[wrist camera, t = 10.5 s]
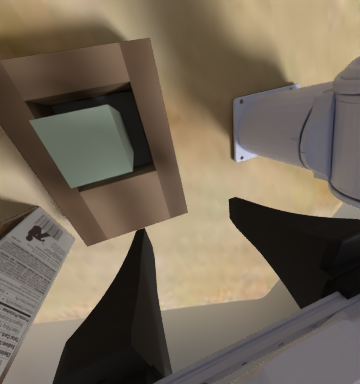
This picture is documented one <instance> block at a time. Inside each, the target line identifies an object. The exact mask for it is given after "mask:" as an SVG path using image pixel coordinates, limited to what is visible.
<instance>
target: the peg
mask: <svg viewBox="0 0 360 384" xmlns="http://www.w3.org/2000/svg"><path fill="white" fill-rule="evenodd" d="M29 122H30V123H31V125H32V126H33V128H34V130H35V131H36V133H37V134H38V136H39V138H40V139H41V141H42V143H43V144H44V146H45V147H46V149H47V151H48V152H49V154H50V155H51V157H52V159H53V160H54V162H55V163H56V165H57V167H58V168H59V170H60V171H61V173H62V175H63V176H64V178H65V180H66V181H67V183H68V184H69V186H70V188H74V187H78V186H82V185H85V184H89V183H92V182H96V181H100V180H103V179H107V178H110V177H114V176H118V175H121V174H125V173H128V172H132V171H133V156H134V150H133V147H132V145H131V142H130V139H129V136H128V133H127V130H126V127H125V124H124V122H123V119H122V116H121V113H120V112H119V111H117V110H116V109H114V108H113V107H111V106H109V105H103V106H98V107H93V108H88V109H83V110H78V111H73V112H69V113H64V114H59V115H54V116H49V117H44V118H39V119H35V120H30V121H29Z"/></svg>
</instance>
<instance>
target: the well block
mask: <svg viewBox="0 0 360 384" xmlns="http://www.w3.org/2000/svg"><path fill="white" fill-rule="evenodd" d="M131 91H132V93H131ZM132 95H133V96H132ZM133 98H134V99H133ZM134 101H135V103H134ZM103 105H109V106H111V107H113V108H114V109H116V110H117V111H119V112H120V113H121V116H122V119H123V122H124V124H125V127H126V130H127V133H128V136H129V139H130V142H131V145H132V147H133V150H134V156H133V171H132V172H128V173H125V174H121V175H118V176H114V177H110V178H107V179H103V180H100V181H96V182H92V183H89V184H85V185H82V186H78V187H74V188H70V186H69V184H68V183H67V181H66V180H65V178H64V176H63V175H62V173H61V171H60V170H59V168H58V167H57V165H56V163H55V162H54V160H53V159H52V157H51V155H50V154H49V152H48V151H47V149H46V147H45V146H44V144H43V143H42V141H41V139H40V138H39V136H38V134H37V133H36V131H35V130H34V128H33V126H32V125H31V123H30V122H29V121H30V120H35V119H39V118H44V117H49V116H54V115H59V114H64V113H69V112H73V111H78V110H83V109H88V108H93V107H98V106H103ZM135 105H136V106H135ZM136 108H137V109H136ZM137 111H138V113H137ZM138 115H139V116H138ZM139 118H140V119H139ZM140 121H141V123H140ZM0 125H1V126H2V128H3V129H4V131H5V132H6V133H7V135H8V136H9V138H10V139H11V140H12V142H13V143H14V145H15V146H16V147H17V149H18V150H19V152H20V153H21V154H22V156H23V157H24V159H25V160H26V161H27V163H28V164H29V166H30V167H31V168H32V170H33V171H34V173H35V174H36V175H37V177H38V178H39V180H40V181H41V182H42V184H43V185H44V187H45V188H46V189H47V191H48V192H49V194H50V195H51V196H52V198H53V199H54V201H55V202H56V203H57V205H58V206H59V208H60V209H61V210H62V212H63V213H64V215H65V216H66V217H67V219H68V220H69V222H70V223H71V224H72V226H73V227H74V229H75V230H76V231H77V233H78V234H79V236H80V237H81V238H82V240H83V241H84V243H85V244H86V245H87V247H88V246H90V245H93V244H96V243H99V242H102V241H105V240H108V239H111V238H114V237H117V236H120V235H123V234H126V233H129V232H132V231H135V230H138V229H141V228H144V227H147V226H150V225H152V224H155V223H158V222H161V221H164V220H167V219H170V218H173V217H176V216H179V215H182V214H185V213H188V211H187V206H186V202H185V197H184V192H183V188H182V183H181V179H180V174H179V170H178V165H177V160H176V156H175V151H174V147H173V142H172V137H171V133H170V128H169V124H168V119H167V115H166V110H165V105H164V101H163V96H162V92H161V87H160V82H159V78H158V73H157V69H156V64H155V60H154V55H153V50H152V46H151V41H150V38H145V39H138V40H131V41H125V42H118V43H111V44H104V45H98V46H91V47H84V48H78V49H71V50H64V51H58V52H51V53H44V54H37V55H31V56H24V57H17V58H11V59H4V60H0ZM141 125H142V126H141ZM142 128H143V129H142ZM143 131H144V133H143ZM144 135H145V136H144ZM145 138H146V139H145ZM146 141H147V143H146ZM147 145H148V146H147ZM148 148H149V149H148ZM149 152H150V153H149ZM150 155H151V156H150ZM151 158H152V159H151Z"/></svg>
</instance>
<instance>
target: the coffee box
mask: <svg viewBox="0 0 360 384" xmlns="http://www.w3.org/2000/svg"><path fill="white" fill-rule="evenodd" d="M74 240H75V238H74V237H73V236H72V235H71V234H69V233H68V232H67V231H66V230H65V229H64V228H63V227H62V226H61V225H60V224H58V223H57V222H56V221H55V220H54V219H53V218H52V217H51V216H50V215H48V214H47V213H46V212H45V211H44V210H43V209H42V208H41V207H38V206H37V207H34V208H32V209H30V210H28V211H26V212H24V213H22V214H20V215H18V216H16V217H14V218H11V219H9V220H7V221H5V222H3V223H1V224H0V384H2V382H3V380H4V378H5V376H6V374H7V372H8V370H9V368H10V366H11V364H12V362H13V361H14V359H15V357H16V355H17V353H18V351H19V348H20V347H21V345H22V343H23V341H24V339H25V336H26V334H27V333H28V331H29V329H30V327H31V325H32V323H33V321H34V319H35V317H36V315H37V313H38V311H39V309H40V307H41V305H42V303H43V301H44V299H45V297H46V295H47V293H48V292H49V290H50V288H51V286H52V284H53V282H54V280H55V278H56V276H57V274H58V272H59V270H60V268H61V266H62V264H63V262H64V260H65V258H66V256H67V254H68V252H69V250H70V248H71V246H72V244H73V242H74Z"/></svg>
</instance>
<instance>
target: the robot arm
mask: <svg viewBox="0 0 360 384" xmlns="http://www.w3.org/2000/svg"><path fill="white" fill-rule="evenodd" d="M240 100H241V101H242V102H241V104H240ZM233 132H234V160H235V161H236V162H241V161H244V160H247V159H251V158H254V157H257V156H262V157H265V158H269V159H273V160H276V161H280V162H284V163H287V164H291V165H295V166H298V167H302V168H306V169H309V170H312V171H313V173H314V177H315V178H318V179H322V180H325V181H328V187H329V190H330V192H331V193H332V194H333V195H334V196H335V197H336V198H338V199H339V200H341V201H343V202H345V203H347V204H349V205H352V206H354V207H357V208H360V57H358V58H356V59H355V60H353V61H352V62H351V63H350V64H349V65H348V66H347V67H346V68H345V69H344V70H343V71H342V72H340V73H339V74H338V75H337V76H336V77H335V79H334V81H331V82H327V83H322V84H317V85H312V86H307V87H302V88H300V85H299V84H295V85H290V86H286V87H282V88H277V89H273V90H269V91H264V92H260V93H256V94H251V95H247V96H242V97H238V98H235V99H234V100H233ZM241 156H242V158H241V159H240V157H241ZM229 213H230V219H231V221H232V222H233V224H234V225H235V226H236V228H237V229H238V230H239V231H240V232H241V233H242V234H243V235H244V236H245V237H246V238H247V239H248V240H249V241H250V242H251V243H252V244H253V245H254V246H255V247H256V249H257V250H258V251H259V252H260V253H261V254H262V256H263V257H264V258H265V259H266V261H267V262H268V263H269V264H270V266H271V267H272V268H273V270H274V271H275V272H276V274H277V275H278V276H279V278H280V279H281V281H282V282H283V283H284V285H285V286H286V288H287V289H288V291H289V292H290V294H291V295H292V297H293V298H294V299H295V301H296V303H297V304H298V306H299V307H300V309H301V310H299V311H297V312H295V313H293V314H291V315H289V316H287V317H285V318H283V319H281V320H279V321H277V322H275V323H273V324H271V325H269V326H267V327H265V328H263V329H261V330H259V331H257V332H255V333H253V334H251V335H249V336H247V337H245V338H243V339H241V340H239V341H237V342H235V343H233V344H231V345H229V346H227V347H225V348H223V349H221V350H219V351H217V352H215V353H213V354H211V355H209V356H207V357H205V358H203V359H201V360H199V361H197V362H195V363H193V364H191V365H189V366H187V367H185V368H183V369H181V370H179V371H177V372H175V373H173V374H172V369H171V364H170V360H169V354H168V349H167V345H166V339H165V334H164V328H163V323H162V317H161V311H160V306H159V300H158V293H157V283H156V269H155V258H154V252H153V247H152V244H151V242H150V240H149V237H148V235H147V232H146V230H145V228H142V229H140V230H137V231H136V233H135V236H134V239H133V241H132V244H131V247H130V249H129V251H128V254H127V256H126V258H125V260H124V262H123V264H122V266H121V268H120V270H119V272H118V274H117V275H116V277H115V279H114V280H113V282H112V284H111V285H110V287H109V288H108V290H107V291H106V293H105V294H104V296H103V297H102V299H101V300H100V301H99V303H98V304H97V305H96V307H95V308H94V309H93V310H92V312H91V313H90V314H89V316H88V317H87V318H86V319H85V321H84V322H83V323H82V324H81V325H80V326H79V328H78V329H77V330H76V331H75V332H74V334H73V335H72V336H71V337H70V338H69V339H68V340H67V342H66V344H65V347H64V349H63V352H62V355H61V358H60V361H59V365H58V368H57V371H56V374H55V377H54V380H53V384H212V383H214V382H216V381H218V380H220V379H222V378H224V377H225V376H227V375H229V374H231V373H233V372H235V371H237V370H239V369H241V368H243V367H244V366H246V365H248V364H250V363H252V362H254V361H256V360H257V359H259V358H261V357H263V356H265V355H267V354H269V353H271V352H272V351H274V350H276V349H278V348H280V347H282V346H284V345H286V344H288V343H289V342H291V341H293V340H295V339H297V338H299V337H301V336H302V335H304V334H306V333H308V332H310V331H312V330H314V329H316V328H318V329H317V330H316V331H314V332H312V333H310V334H308V335H306V336H305V337H302V338H301V339H299V340H297V341H295V342H293V343H291V344H289V345H287V346H286V347H284V348H282V349H280V350H279V351H277V352H276V353H274V354H272V355H271V356H270V357H269V358H267V359H266V360H265V361H264V362H262V363H260V364H259V365H257V366H256V367H254V368H253V369H251V370H250V371H248V372H247V373H245V374H243V375H242V376H240V377H239V378H237V379H236V380H234V381H233V382H232V383H230V384H360V220H359V219H345V218H327V217H317V216H309V215H302V214H295V213H290V212H285V211H281V210H277V209H273V208H269V207H266V206H262V205H259V204H256V203H253V202H250V201H247V200H244V199H241V198H237V197H234V198H231V199H229Z"/></svg>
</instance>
